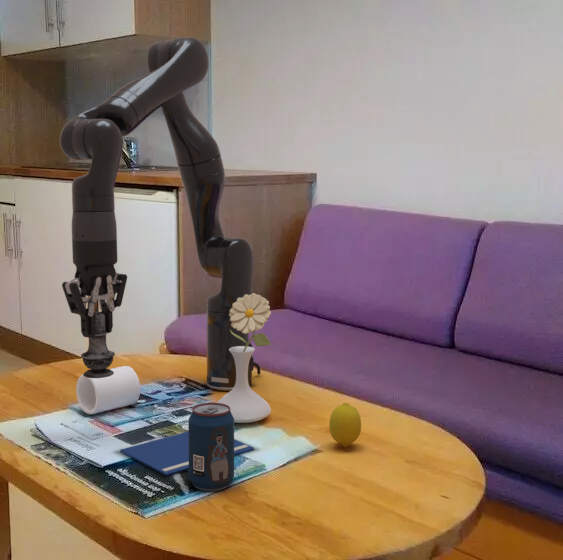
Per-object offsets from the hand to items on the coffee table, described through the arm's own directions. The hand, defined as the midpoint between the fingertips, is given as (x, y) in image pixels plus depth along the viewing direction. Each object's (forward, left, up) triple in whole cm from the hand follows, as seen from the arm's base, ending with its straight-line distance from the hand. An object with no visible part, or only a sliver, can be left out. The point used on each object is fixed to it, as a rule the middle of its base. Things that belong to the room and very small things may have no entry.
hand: (97, 334), depth 135 cm
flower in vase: (-27, +5, -19) cm, 34 cm away
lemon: (-34, +27, -19) cm, 48 cm away
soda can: (-7, +29, -19) cm, 35 cm away
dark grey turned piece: (0, 0, -7) cm, 7 cm away
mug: (-7, -17, -19) cm, 26 cm away
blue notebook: (-10, +14, -19) cm, 26 cm away
